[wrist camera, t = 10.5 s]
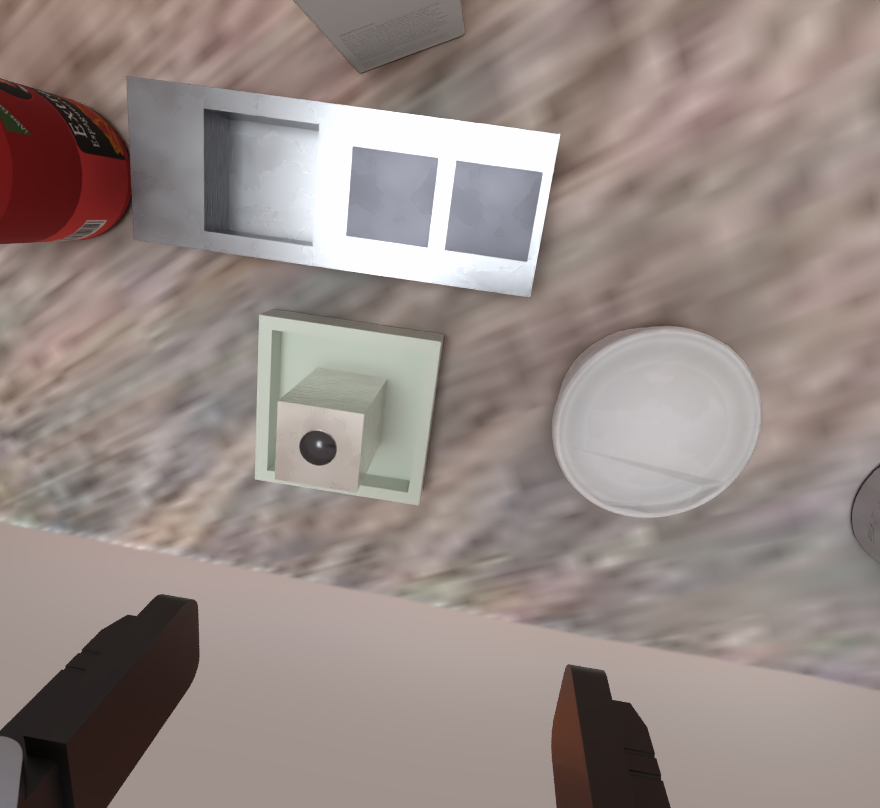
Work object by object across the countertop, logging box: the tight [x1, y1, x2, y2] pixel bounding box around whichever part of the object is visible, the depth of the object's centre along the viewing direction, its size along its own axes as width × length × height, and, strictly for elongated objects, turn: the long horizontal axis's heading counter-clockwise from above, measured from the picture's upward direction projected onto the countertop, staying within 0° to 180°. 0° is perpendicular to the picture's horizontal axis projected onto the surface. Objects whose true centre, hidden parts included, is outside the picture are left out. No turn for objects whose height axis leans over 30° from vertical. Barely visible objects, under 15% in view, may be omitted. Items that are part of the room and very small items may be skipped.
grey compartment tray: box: [126, 76, 560, 297], centre depth 30 cm, size 22×8×4 cm, turn 82°
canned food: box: [0, 78, 132, 244], centre depth 28 cm, size 8×8×11 cm
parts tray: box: [255, 309, 444, 505], centre depth 35 cm, size 11×11×2 cm
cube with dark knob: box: [275, 367, 387, 493], centre depth 33 cm, size 5×5×7 cm
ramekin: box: [552, 326, 762, 518], centre depth 33 cm, size 11×11×5 cm
